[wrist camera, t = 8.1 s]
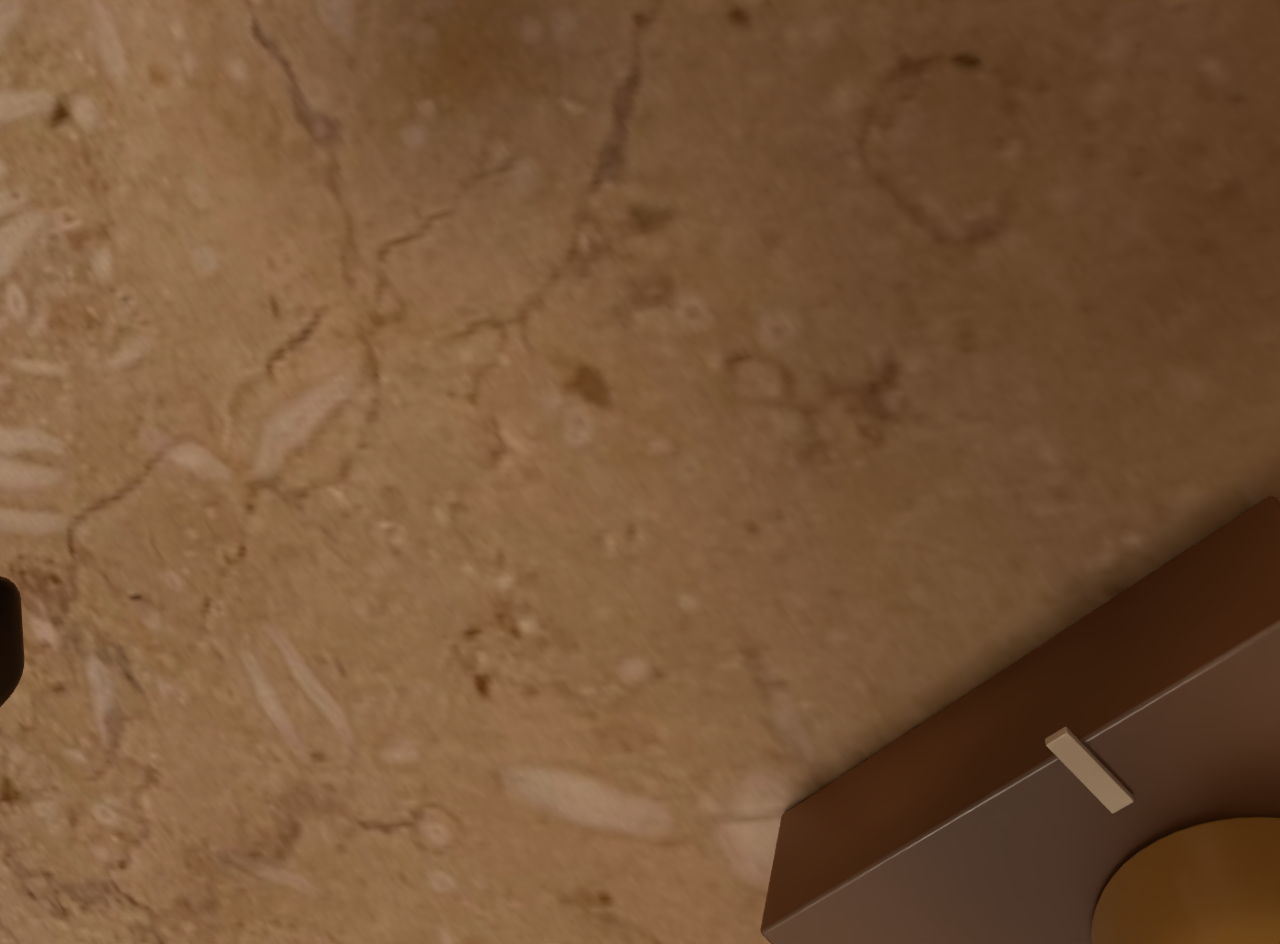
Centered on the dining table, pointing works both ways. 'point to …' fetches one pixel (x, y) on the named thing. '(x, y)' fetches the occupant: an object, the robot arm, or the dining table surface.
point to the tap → (1197, 888)
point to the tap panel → (1054, 767)
